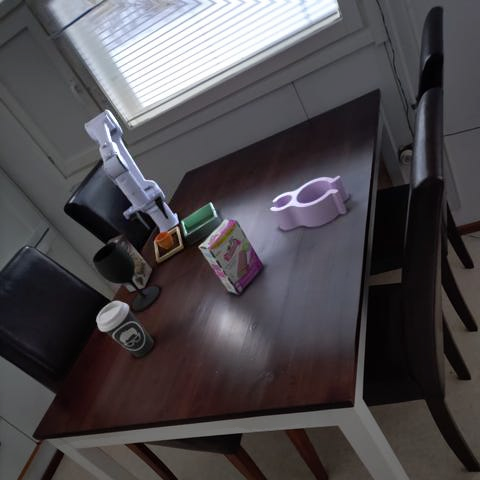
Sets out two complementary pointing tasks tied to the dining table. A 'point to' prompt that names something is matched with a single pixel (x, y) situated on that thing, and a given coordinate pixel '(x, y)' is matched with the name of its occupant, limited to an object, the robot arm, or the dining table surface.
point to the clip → (311, 204)
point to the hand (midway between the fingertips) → (158, 223)
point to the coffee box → (141, 266)
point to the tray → (172, 250)
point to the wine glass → (122, 272)
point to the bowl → (164, 240)
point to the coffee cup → (124, 328)
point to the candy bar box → (231, 256)
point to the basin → (200, 223)
